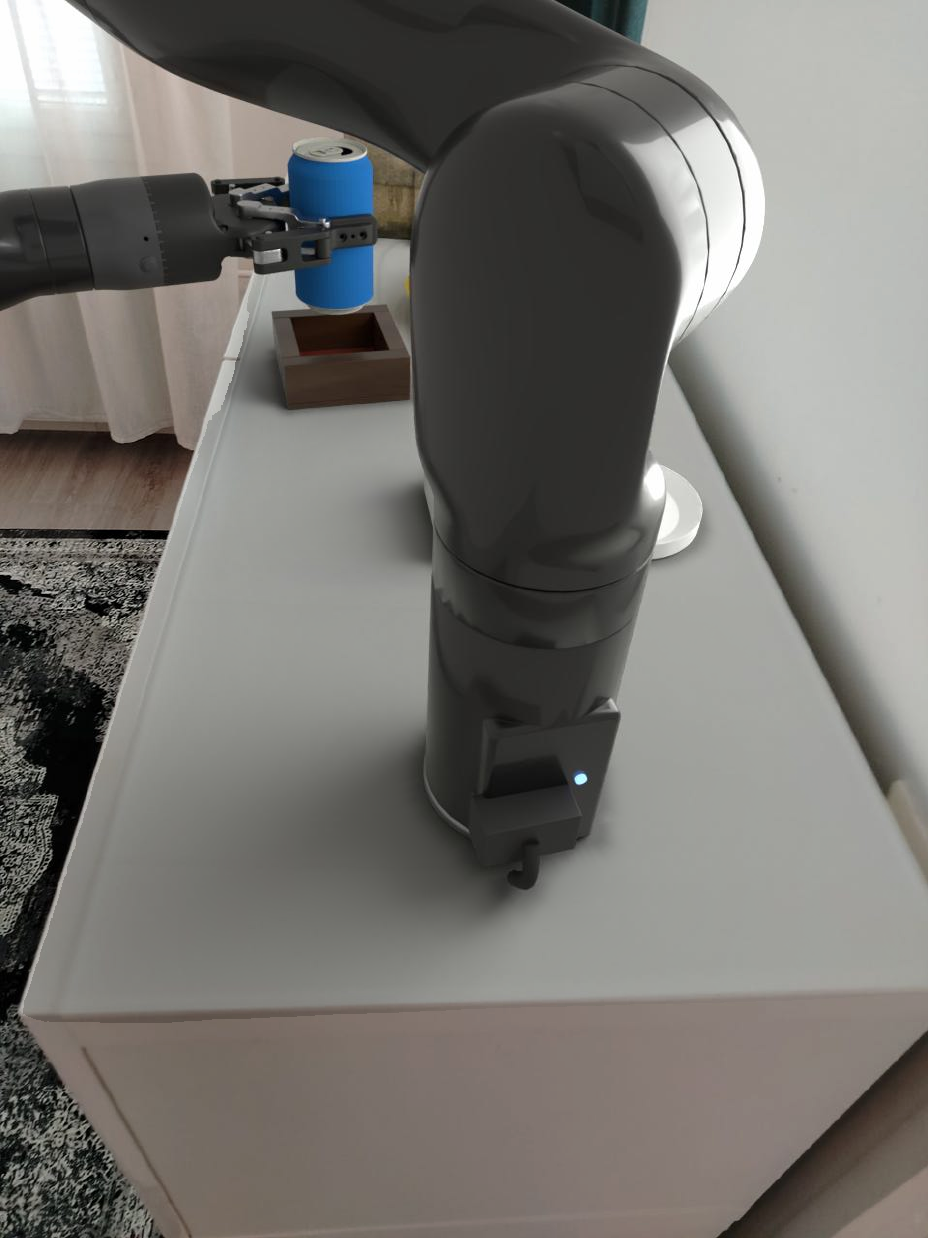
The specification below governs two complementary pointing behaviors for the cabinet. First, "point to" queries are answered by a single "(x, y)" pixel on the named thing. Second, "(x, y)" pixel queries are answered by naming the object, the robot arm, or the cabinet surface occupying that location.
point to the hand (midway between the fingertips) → (359, 213)
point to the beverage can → (328, 187)
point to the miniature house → (392, 192)
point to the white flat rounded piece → (677, 516)
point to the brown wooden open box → (340, 357)
